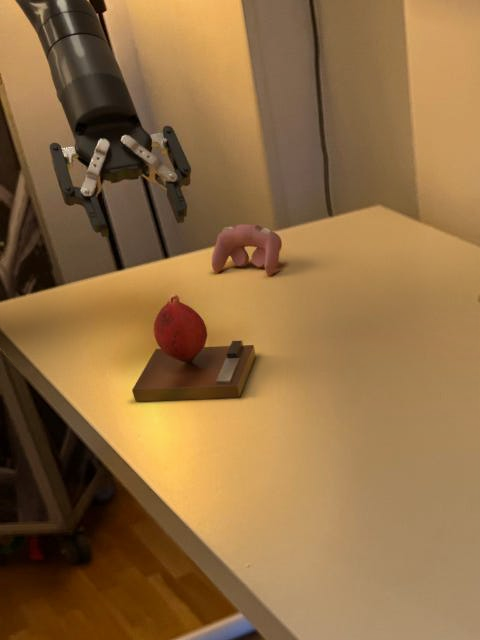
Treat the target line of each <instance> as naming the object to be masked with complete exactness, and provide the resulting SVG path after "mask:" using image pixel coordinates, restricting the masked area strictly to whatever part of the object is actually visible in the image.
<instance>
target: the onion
mask: <svg viewBox="0 0 480 640" xmlns="http://www.w3.org/2000/svg"><path fill="white" fill-rule="evenodd" d="M153 334H154V338H155V341H156V344H157V345H158V347H159V349H161V350H162V351H163V352H164V353H165V354H167V355H168V356H170V357H172V358H175V359H177V360H180V361H182V362H185V363H190V362H192V361H193V360H194V358H195V357H196V356H197V355H198V353H199V352H200V351H201V350H202V349H203V347H206V342H207V338H208V331H207V325H206V323H205V320H204V319H203V318H202V317H201V316H200V314H199V313H198V312H197V311H196V310H195V309H194V308H192V307H191V306H189V305H187V304H186V303H182V302H181V301H180V296H178V295H177V294H171V295H170V296H169V297H168V300H167V301H166V304H165V305H163V306H162V308H161V309H160V310H159V312H158V314H157V316H156V317H155V320H154V323H153Z"/></svg>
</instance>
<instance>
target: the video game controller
mask: <svg viewBox="0 0 480 640" xmlns="http://www.w3.org/2000/svg"><path fill="white" fill-rule="evenodd" d="M282 244H283V243H282V238H281V236H280V235H279V234H278V233H276V232H275V231H273V230H271V229H270V228H267V227H264V226H262V225H259V224H252V223H251V224H250V223H239V224H237V225H232V226H228V227H227V226H225V227H223V228H222V231H220V232H219V234H218V236H217V239H216V242H215V245H214V248H213V252H212V256H211V268H212V270H213V271H214V273H215V274H216V273H218V274H219V273H220V272H221V271H222V270H223V269H224V267H225V266H226V263H228V259H229V257H230V258H231V261H232V263H233V264H234V265H235V266H239V267H246V266H247V265H248V264H249V261H250V256H249V253H248V252H247V250H246V249H245V248H247V247H253V248H255V250H254V251H253V252H252V254H251V262H252V265H254V266H255V267H257V268H260V269H261V268H263V269H264V270H265V273H266V274H267V276H272V275H274V273H275V272H276V270H277V267H278V265H279V259H280V252H281V250H282Z"/></svg>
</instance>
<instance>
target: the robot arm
mask: <svg viewBox="0 0 480 640" xmlns="http://www.w3.org/2000/svg"><path fill="white" fill-rule="evenodd" d="M14 1H15V3H16V4H17V5H18V7H19V8H20V9H21V11H22V13H23V14H24V15H25V17H26V18H27V21H29V23H30V25H31V27H32V28H33V29H34V31H35V33H36V35H37V37H38V40H39V43H40V45H41V47H42V51H43V53H44V55H45V59H46V60H47V63H48V68H49V71H50V76H51V79H52V83H53V87H54V89H55V91H56V97H57V99H58V101H59V103H60V104H61V108H62V110H63V112H64V115H65V118H66V120H67V123H68V125H69V128H70V131H71V133H72V137H73V138H74V141H75V143H74V146H63V147H62V145H61V144H60V143H58V142H51V143H50V144H49V152H50V153H49V154H50V158H51V159H50V160H51V163H52V167H53V169H54V173H55V176H56V180H57V182H58V186H59V189H60V192H61V196H62V200H63V201H64V204H65V205H67V206H68V207H69V206H70V207H71V206H75V205H79V206H82V207H83V208H84V210H85V213H86V215H87V217H88V220H89V223H90V226H91V229H92V230H93V232H95V233H96V234H98V233H100V235H101V237H102V238H106V237H109V236H110V234H109V226H108V224H107V223H108V222H107V221H106V218H105V215H104V212H103V210H102V207H101V205H100V202H99V200H98V196H99V194H100V193H101V191H102V189H103V186H104V184H105V181H107V182H110V184H116V183H120V182H122V181H124V180H127V181H128V180H129V181H134V180H139V179H140V177H142V178H144V179H146V180H147V181H149V182H150V183H151V184H156V185H157V186H159V187H160V188H162V189H163V190H165V191H166V197H167V200H168V202H169V205H170V207H171V210H172V213H173V216H174V218H175V221H176V224H181V223H182V224H183V223H185V218H186V217H187V216H188V215H187V214H188V204H187V202H186V199H185V196H184V194H183V191H182V187H183V186H184V187H188V186H189V185H190V184H191V173H192V167H191V165H190V163H189V160H188V158H187V156H186V155H185V152H184V150H183V148H182V145H181V142H180V141H179V139H178V136H177V133H175V130H174V128H173V127H172V126H170V125H165V126H163V127H162V131H160V132H156V133H155V132H154V133H151V134H149V132H147V131H146V130H145V128H144V127H143V125H142V122H141V120H140V118H139V115H138V112H137V109H136V107H135V103H134V102H133V99H132V96H131V94H130V91H129V88H128V85H127V83H126V80H125V78H124V76H123V73H122V70H121V67H120V66H119V63H118V61H117V59H116V58H115V56H114V53H113V52H112V50H111V48H110V45H109V42H108V39H107V37H106V34H105V32H104V31H105V30H104V29H103V27H102V24H101V22H100V19H99V16H98V14H97V12H96V10H95V8H94V6H93V5H92V3H91V2H89V0H14ZM154 147H155V148H157V149H159V151H160V152H161V154H162V155H167V157H168V159H169V161H170V163H171V165H172V168H173V170H174V171H173V170H172V169H171V168H169V167H168V166H167V165H165V164H163V163H162V160H161V159H160V158H159V157H158V156H156V155H155V154H153V153H152V151H153V148H154ZM75 160H77V161H78V162H79V163H81V164H82V165H83V166H85V167H86V168H87V169H86V174H85V178H84V181H83V182H82V186H81V187H79V186H74V184H73V181H72V178H71V175H70V170H71V169H73V167H74V161H75Z"/></svg>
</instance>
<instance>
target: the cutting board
mask: <svg viewBox="0 0 480 640" xmlns="http://www.w3.org/2000/svg"><path fill="white" fill-rule="evenodd" d="M256 357H257V355H256V350H255V345H254V344H244V343H243V340H232V341H231V343H230V344H229V345H222V346H221V345H219V346H217V345H216V346H204V347H203V349H202V350H201V351H200V352H199V353H198V355H197V356H196V357H195V358H194V360H193V361H192V362H190V363H185V362H182V361H180V360H177V359H175V358H172V357H170V356H168V355H167V354H165V353H164V352H163V351H162V350H161V348H156V349H155V350H154V351H153V353H152V354H151V356H150V358H149V360H148V362H147V363H146V365H145V367H144V369H143V370H142V372H141V374H140V375H139V378H138V379H137V381H136V382H135V383H134V386H133V388H132V389H131V390H132V394H133V399H134V401H135V403H136V402H161V401H162V402H163V401H164V402H165V401H185V400H187V401H188V400H209V399H210V400H212V399H236V398H240V397H241V395H242V392H243V390H244V387H245V385H246V382H247V380H248V378H249V375H250V372H251V369H252V367H253V365H254V361H255V359H256Z"/></svg>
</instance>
